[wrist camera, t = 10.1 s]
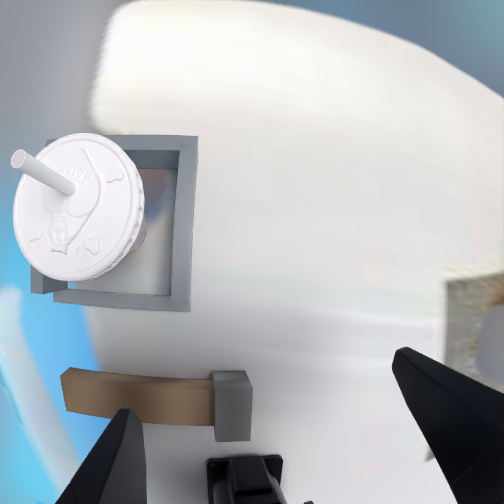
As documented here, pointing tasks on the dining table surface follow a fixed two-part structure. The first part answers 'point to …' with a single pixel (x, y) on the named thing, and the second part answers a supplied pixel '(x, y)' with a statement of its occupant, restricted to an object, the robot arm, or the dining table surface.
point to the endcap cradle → (185, 161)
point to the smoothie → (78, 207)
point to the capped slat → (165, 399)
